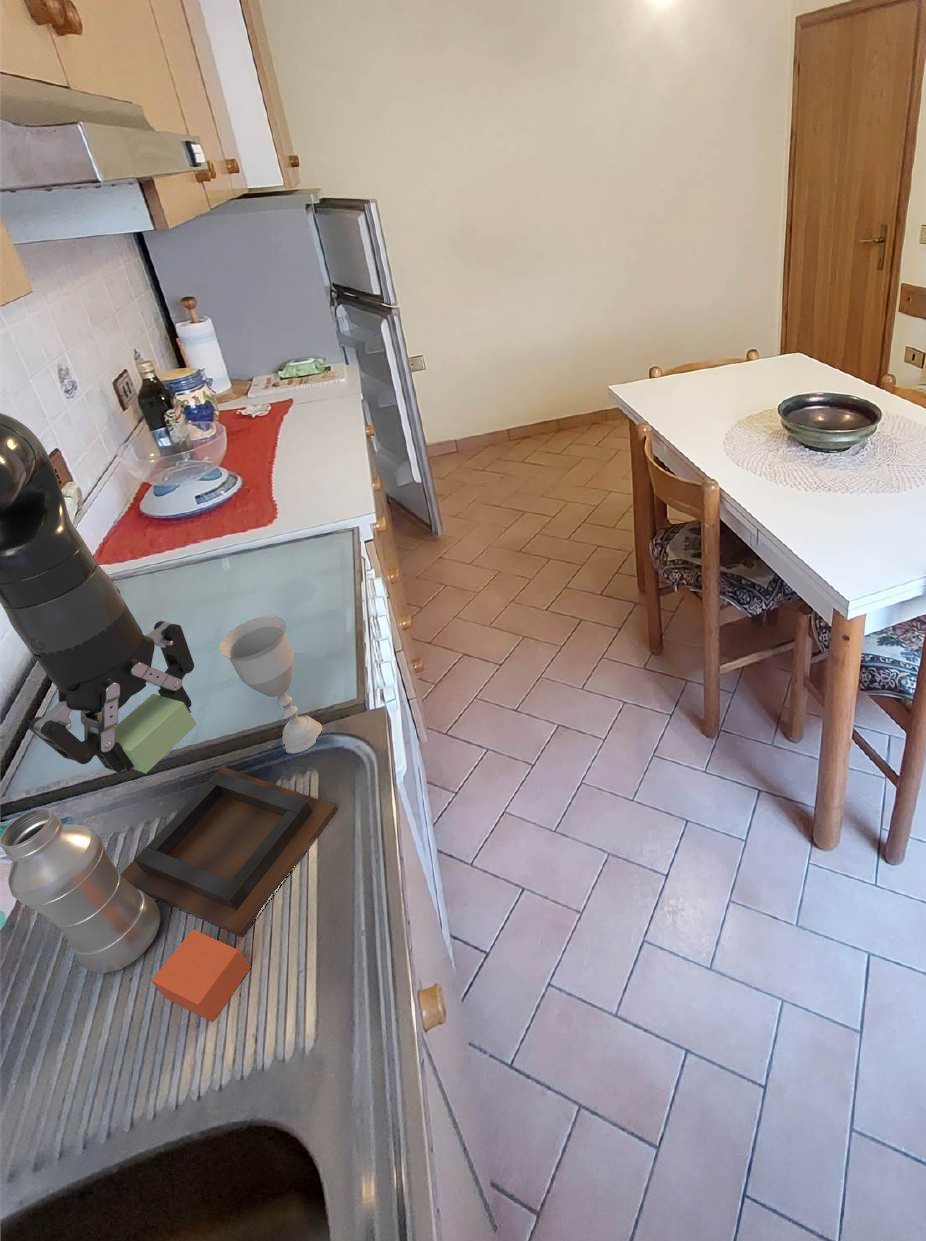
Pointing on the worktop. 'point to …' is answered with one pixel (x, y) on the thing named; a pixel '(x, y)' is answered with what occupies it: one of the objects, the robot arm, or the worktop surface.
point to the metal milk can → (79, 890)
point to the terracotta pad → (201, 975)
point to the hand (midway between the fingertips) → (154, 739)
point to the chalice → (270, 673)
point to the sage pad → (153, 730)
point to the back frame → (229, 849)
